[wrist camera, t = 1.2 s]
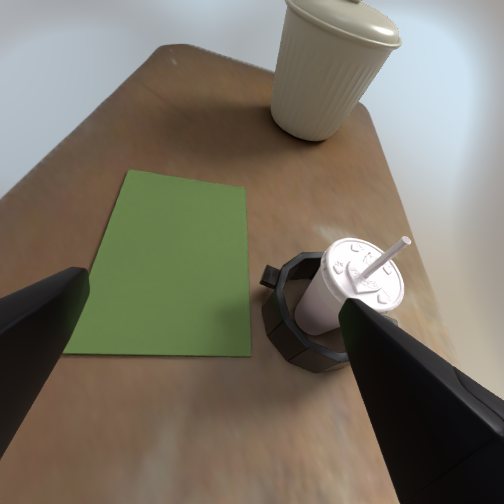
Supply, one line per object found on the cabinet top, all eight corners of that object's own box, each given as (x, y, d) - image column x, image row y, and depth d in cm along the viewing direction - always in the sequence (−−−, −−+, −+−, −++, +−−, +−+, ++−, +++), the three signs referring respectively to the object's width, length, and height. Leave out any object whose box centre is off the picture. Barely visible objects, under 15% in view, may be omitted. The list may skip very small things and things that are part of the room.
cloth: (250, 357, 23) (251, 356, 23) (61, 354, 20) (60, 353, 19) (245, 189, 35) (245, 188, 35) (128, 170, 32) (128, 169, 32)
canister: (283, 157, 42) (354, -24, 25) (240, 99, 50) (273, -68, 33) (360, 151, 50) (454, 9, 33) (313, 101, 58) (369, -34, 41)
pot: (367, 396, 23) (401, 389, 20) (235, 338, 24) (245, 322, 20) (371, 300, 30) (397, 282, 26) (267, 255, 30) (279, 231, 26)
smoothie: (270, 321, 25) (345, 234, 14) (299, 279, 29) (375, 183, 18) (325, 363, 24) (453, 304, 13) (347, 313, 28) (461, 235, 17)
